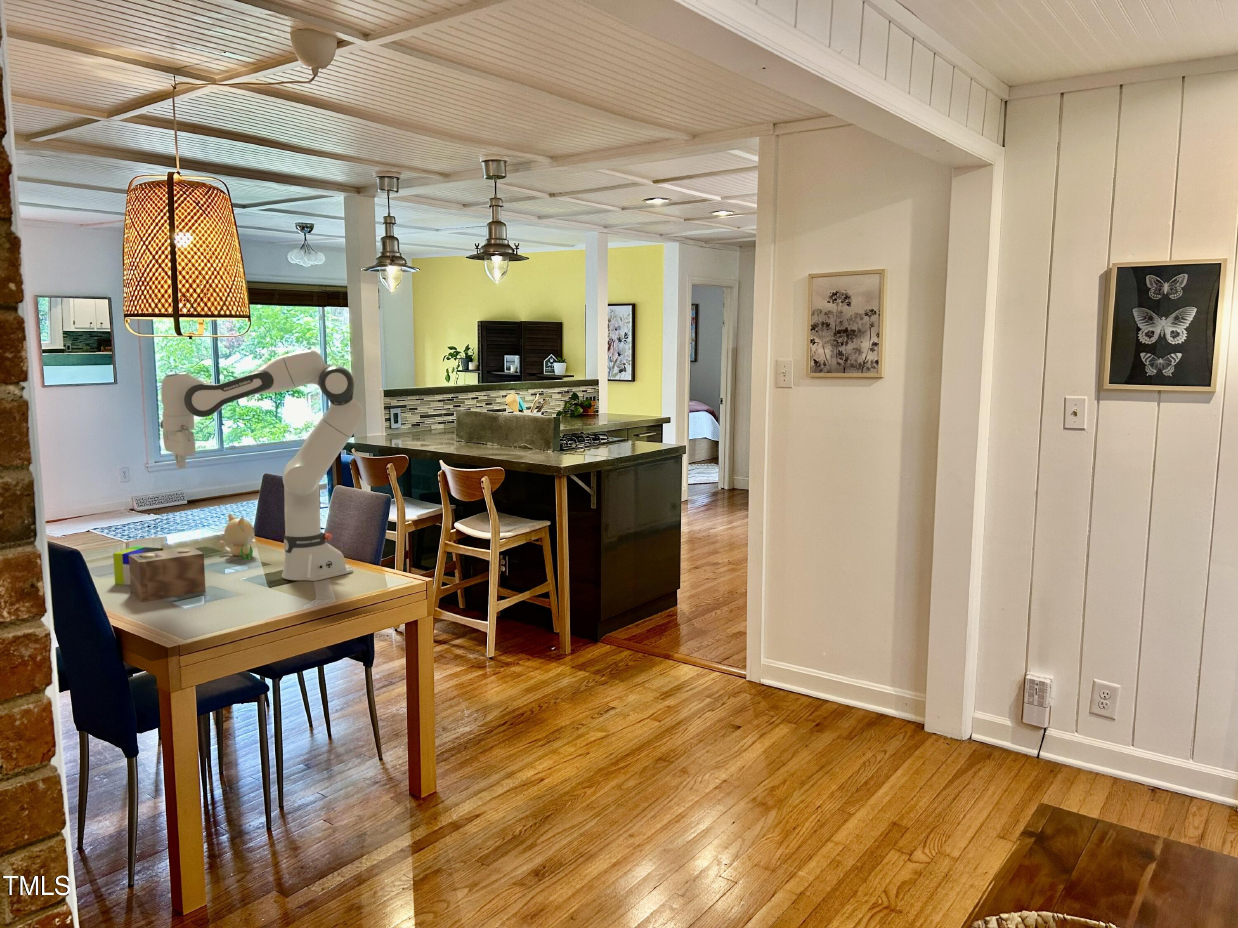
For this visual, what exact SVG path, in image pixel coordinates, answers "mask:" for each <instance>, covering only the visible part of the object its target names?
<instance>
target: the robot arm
mask: <svg viewBox="0 0 1238 928" xmlns="http://www.w3.org/2000/svg"><path fill="white" fill-rule="evenodd" d="M355 383H356V382H355V378H354V376H353V374H352V372H351V371H350V370H349V369H347V368H346V367H344V366H340V365H331V364H330V365H329V364H326V363H325V361H324V358H323V357H322V355H321V354H320V353H319V352H318V351H316V350H313V349H307V350H300V351H294V352H290V353H287V354H283V355H281V356H278V357H275V358H273V359H270V360H268V361H266V362H264V363H263V364H262V365H260V366H259V367H257V368H255V369H254V370H253V371H251V372H249V373H248V374H245V375H243V376H239V377H237V378H234V379H232V380H231V379H230V380H227V381H225V382H222V383H217V384H215V383H212V382H208V381H205V380H201V379H199V378H197V377H194V376H193V375H192V374H190V373H189V372H185V371H183V372H177V373H172V374H168V375H166V376H164V377H163V378H162V381H161V392H160V393H161V397H160V398H161V403H162V406H163V408H162V409H163V410H162V420H161V421H160V424H159V425H160V429H162V437H163V439H162V440H163V445H164V448H165V451H166V452H169V453H171V454H172V453H173V455H174V460H175V463H176V464H175V465H176V468H178V469H186V460H187V457H194V456H196V441H195V435H194V432H193V430H195V417H198V418H207V417H211V416H213V414H215V413H217V412H218V411H220V410H221V409H222V408H223V407H224V406H225V405H227V404H230V403H232V402H235V401H238V400H240V399H243V398H244V399H245V398H248V397H250V396H253V395H260V394H272V393H273V394H274V393H281V392H285V391H290V390H293V389H294V390H295V389H297V388H300V387H303V386H306V385H310V384H311V385H316V386H318V387H319V389H320V391H321V393H322V394H323V395H324V396H325V397H326V399H327V400H328V402H330V404H329V407H328V409H327V410H326V412H325V414H324V415H323V416H322V418H321V419H320V420H319V422H318V423H317V424H316V425H315V427H314V428H313V430H312V431H311V432H310V433H309V435H308V436H307V438H306V440H305V441H304V442H303V444H302V445H301V447H300V448H299V450H298V451H297V453H296V454H295V455H294V457H293V458H292V459H291V460H289V461H288V463H287V464H286V465H285V467H284V469H283V473H282V483H283V485H284V488H283V489H284V490H283V491H284V492H283V494H284V497H283V498H284V529H285V530H284V531H285V534H284V536H283V548H284V552H285V555H284V565H283V569H282V574H281V578H282V579H285V580H288V581H289V580H290V581H311V582H312V581H313V582H315V581H320V580H324V579H329V578H334V577H337V576H342V575H347V574H350V573H353V568H352V567H351V566H350V565H349V564H346V560H345V557H344V556H345V555H344V554H343V553H342V551H340V550H339V549H337V548H335V547H334V546H333V545H332V544H329V543H328V542H327V541H331V539H332V534H331V533H324V532H323V531H321V530H322V529H321V527H322V526H321V506H320V505H321V501H320V499H321V498H320V497H321V496H320V482H321V481H322V480H323V478H324V477H325V475H326V473H328V471H329V469H330V468H331V466H332V464H333V463H334V461H335V460H336V458H337V457H338V456H339V454H341V451H342V450H343V449H344V447H345V446H346V445H347V444H348V442H349V440H350V439H351V438H352V437H353V435H354V434H355V432H356V430H357V429H358V427H359V425H360V423H361V421H362V419H363V416H364V414H365V413H364V412H365V411H364V407H363V406H362V404H361V403H360V402H359V401H357V399H355V398H354V389H355Z"/></svg>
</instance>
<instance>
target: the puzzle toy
mask: <svg viewBox="0 0 1238 928" xmlns="http://www.w3.org/2000/svg"><path fill="white" fill-rule="evenodd" d="M162 550H164V548H163V547H149V546H148V547H147V546H133V547H131V548H127V549H124V550H120V551H116V552H114V553H113V555H112V557H113V571H114V572H113V573H114V584H116V585H127V586H131V585H130V569H129V555H132V554H140V553H147V552H155V551H162Z"/></svg>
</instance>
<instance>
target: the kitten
mask: <svg viewBox="0 0 1238 928" xmlns="http://www.w3.org/2000/svg"><path fill="white" fill-rule="evenodd" d="M227 517H228V523H227V524H226V526H225V528H224V533H223V536H224V539H225V541H226V542H227V543H228V544H231V545H232V546H231V548H229V547H228V546H227V545H226V542H225V541H224V540H220V541H219V543H218V544H219V547H220V548H221V549H222V550H224V551H225V553H227V554H230V555H232V556H236V557H242V558H243V560H244V559H245V560H246V559H248V560H250V559H253V553H254V550H253V547H252V546H251V545H250V544H251V543H252V542H253V540H254V538H255V532H256V529H255V527H254V526H253V525H252V523H251V522H250V520H247V519H246V518H244V517H243V516H242V517H240V518H239V517H238V518H236V516H234V515H233V514H232V513H228V515H227ZM249 558H250V559H249Z"/></svg>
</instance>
